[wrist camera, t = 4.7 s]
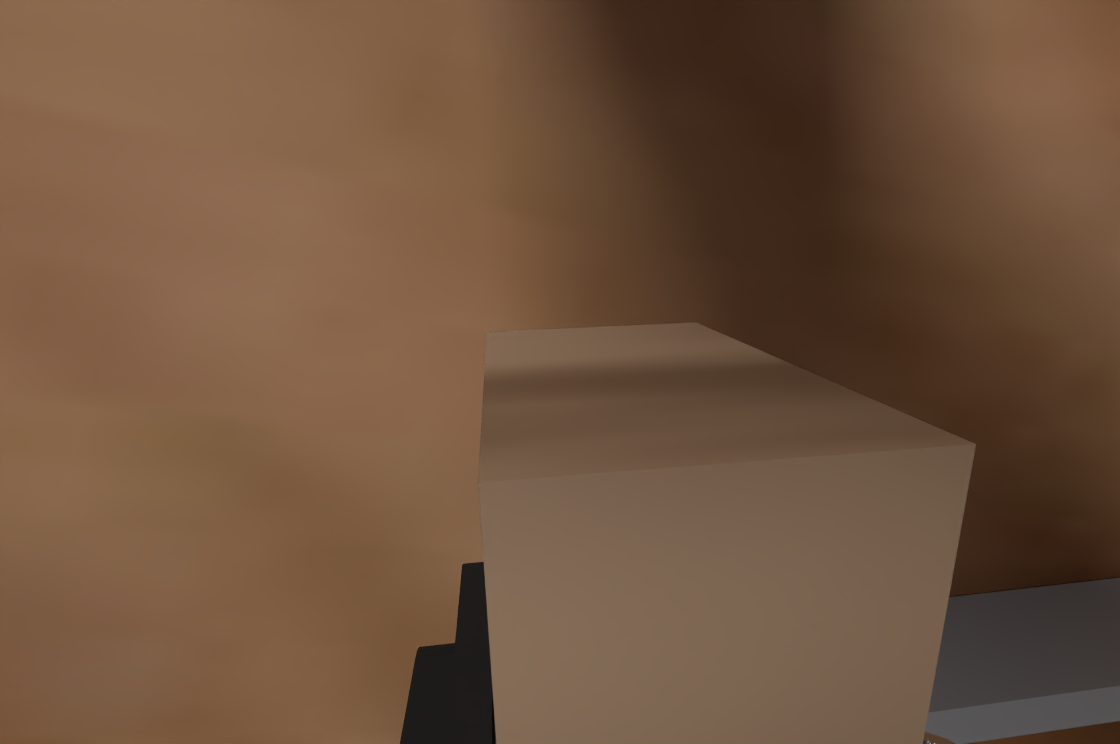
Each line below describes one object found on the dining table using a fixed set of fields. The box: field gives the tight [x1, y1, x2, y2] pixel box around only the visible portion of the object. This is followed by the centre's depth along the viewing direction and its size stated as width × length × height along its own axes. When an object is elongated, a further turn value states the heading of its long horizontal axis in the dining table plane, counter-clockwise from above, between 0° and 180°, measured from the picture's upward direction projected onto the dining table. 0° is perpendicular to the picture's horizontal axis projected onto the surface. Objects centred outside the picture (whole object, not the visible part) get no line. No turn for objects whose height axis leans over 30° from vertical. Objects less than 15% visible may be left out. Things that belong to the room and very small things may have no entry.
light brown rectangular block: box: [478, 322, 976, 744], centre depth 8 cm, size 11×4×6 cm, turn 2°
